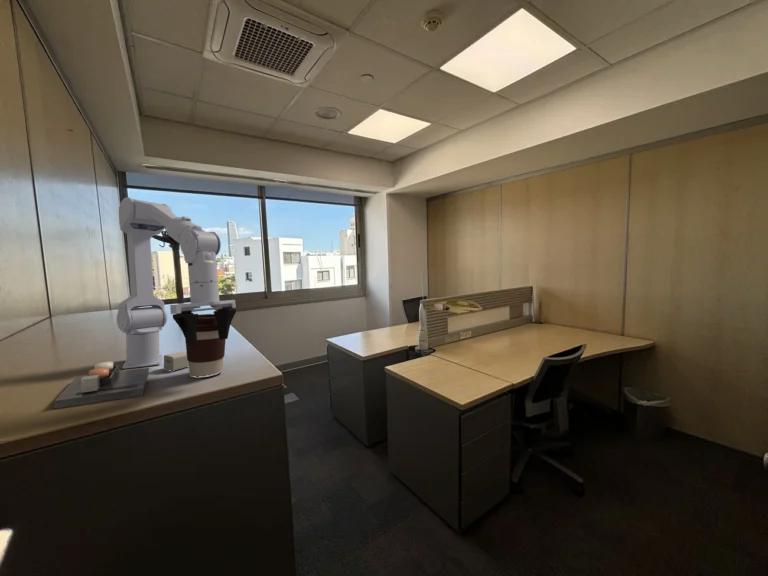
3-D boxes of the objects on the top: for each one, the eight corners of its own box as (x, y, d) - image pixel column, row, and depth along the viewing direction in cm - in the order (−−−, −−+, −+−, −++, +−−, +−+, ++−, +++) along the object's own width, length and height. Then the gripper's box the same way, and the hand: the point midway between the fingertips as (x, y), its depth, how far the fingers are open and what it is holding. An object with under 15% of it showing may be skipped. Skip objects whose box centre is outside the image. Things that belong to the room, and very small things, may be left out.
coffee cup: (193, 384, 72) (192, 320, 71) (176, 374, 78) (175, 315, 77) (235, 373, 80) (235, 316, 79) (217, 365, 86) (217, 311, 85)
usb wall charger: (163, 369, 81) (163, 354, 81) (189, 362, 88) (189, 349, 87) (173, 372, 80) (173, 357, 79) (199, 365, 86) (199, 351, 86)
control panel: (77, 382, 71) (77, 369, 70) (148, 373, 78) (148, 362, 78) (54, 408, 58) (54, 393, 58) (142, 395, 65) (142, 381, 65)
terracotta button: (91, 375, 67) (90, 369, 67) (110, 373, 69) (110, 366, 69) (87, 380, 65) (87, 373, 65) (107, 378, 66) (107, 371, 66)
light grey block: (83, 389, 63) (83, 376, 63) (99, 387, 64) (99, 374, 64) (80, 392, 61) (80, 379, 61) (97, 390, 62) (96, 377, 62)
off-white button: (96, 369, 72) (96, 362, 72) (114, 367, 73) (114, 360, 73) (93, 373, 69) (92, 366, 69) (112, 371, 71) (111, 364, 71)
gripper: (183, 282, 63) (188, 348, 63) (242, 281, 76) (246, 336, 76) (162, 284, 66) (167, 348, 66) (222, 283, 79) (227, 336, 79)
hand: (208, 342), depth 71 cm, fingers open, 7 cm apart
